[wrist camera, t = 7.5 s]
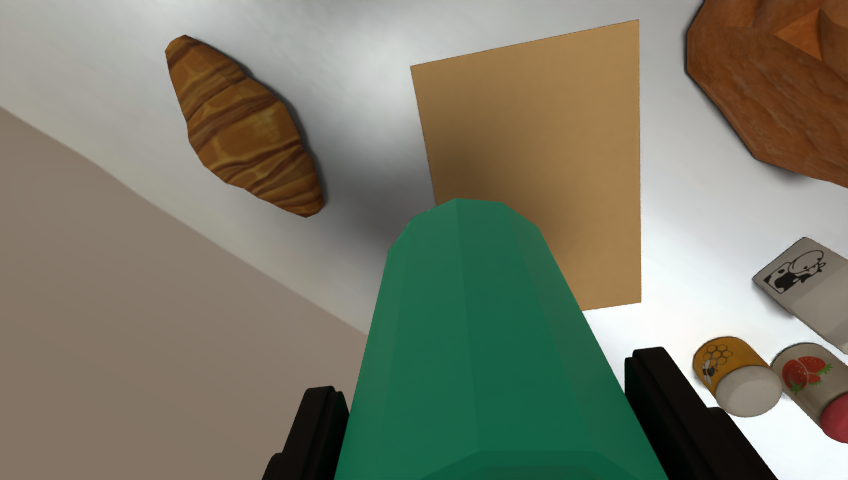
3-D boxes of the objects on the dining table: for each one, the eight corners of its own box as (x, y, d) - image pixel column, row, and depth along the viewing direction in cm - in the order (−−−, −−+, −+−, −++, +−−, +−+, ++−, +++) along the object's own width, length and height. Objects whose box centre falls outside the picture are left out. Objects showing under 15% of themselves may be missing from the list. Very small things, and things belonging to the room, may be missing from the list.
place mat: (410, 66, 30) (410, 66, 30) (637, 19, 28) (638, 19, 28) (460, 327, 38) (460, 328, 37) (640, 301, 36) (641, 302, 36)
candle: (350, 267, 17) (177, 709, 6) (483, 160, 15) (602, 497, 4) (456, 372, 18) (480, 869, 7) (587, 287, 17) (868, 766, 6)
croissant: (146, 72, 30) (95, 79, 26) (221, 5, 29) (180, 0, 24) (285, 232, 35) (262, 262, 30) (357, 182, 33) (344, 206, 28)
